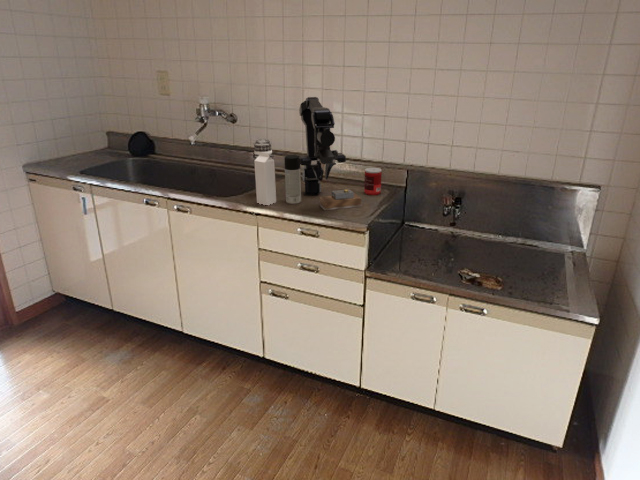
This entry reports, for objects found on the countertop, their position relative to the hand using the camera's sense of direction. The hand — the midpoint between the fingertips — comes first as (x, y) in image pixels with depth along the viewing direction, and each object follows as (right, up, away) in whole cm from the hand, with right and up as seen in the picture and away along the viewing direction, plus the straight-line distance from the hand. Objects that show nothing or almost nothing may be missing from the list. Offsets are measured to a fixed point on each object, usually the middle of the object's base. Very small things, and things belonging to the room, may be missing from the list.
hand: (322, 179), depth 190 cm
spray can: (-12, -8, +12) cm, 19 cm away
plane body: (+8, -10, +7) cm, 14 cm away
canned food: (+23, -3, +23) cm, 33 cm away
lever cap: (+9, -7, +6) cm, 12 cm away
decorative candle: (-26, -4, +22) cm, 34 cm away
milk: (-24, -9, +11) cm, 28 cm away
